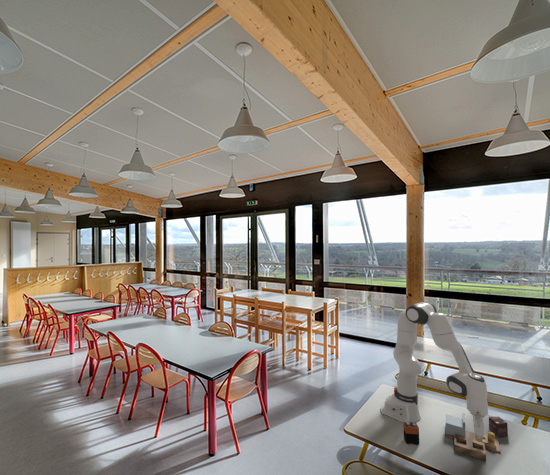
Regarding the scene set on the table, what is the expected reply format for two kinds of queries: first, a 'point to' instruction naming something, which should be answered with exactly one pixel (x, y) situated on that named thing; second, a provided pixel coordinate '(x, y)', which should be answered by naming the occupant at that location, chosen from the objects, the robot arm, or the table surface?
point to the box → (498, 426)
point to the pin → (478, 439)
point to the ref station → (487, 440)
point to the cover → (455, 425)
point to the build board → (470, 447)
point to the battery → (411, 433)
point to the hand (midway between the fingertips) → (478, 434)
